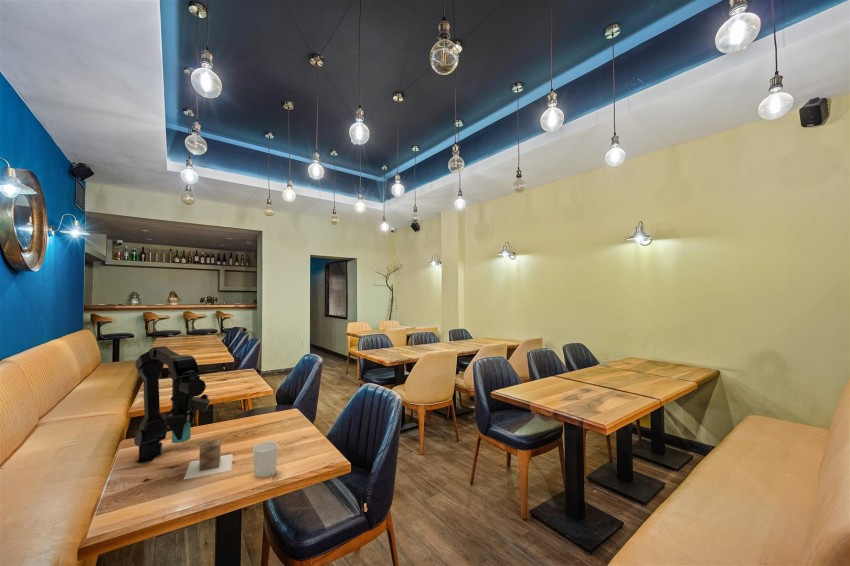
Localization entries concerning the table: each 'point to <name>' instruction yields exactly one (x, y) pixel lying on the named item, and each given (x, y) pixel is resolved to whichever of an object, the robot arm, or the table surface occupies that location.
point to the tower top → (210, 449)
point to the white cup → (265, 459)
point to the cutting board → (194, 469)
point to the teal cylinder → (185, 435)
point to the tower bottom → (209, 463)
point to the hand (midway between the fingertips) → (181, 436)
